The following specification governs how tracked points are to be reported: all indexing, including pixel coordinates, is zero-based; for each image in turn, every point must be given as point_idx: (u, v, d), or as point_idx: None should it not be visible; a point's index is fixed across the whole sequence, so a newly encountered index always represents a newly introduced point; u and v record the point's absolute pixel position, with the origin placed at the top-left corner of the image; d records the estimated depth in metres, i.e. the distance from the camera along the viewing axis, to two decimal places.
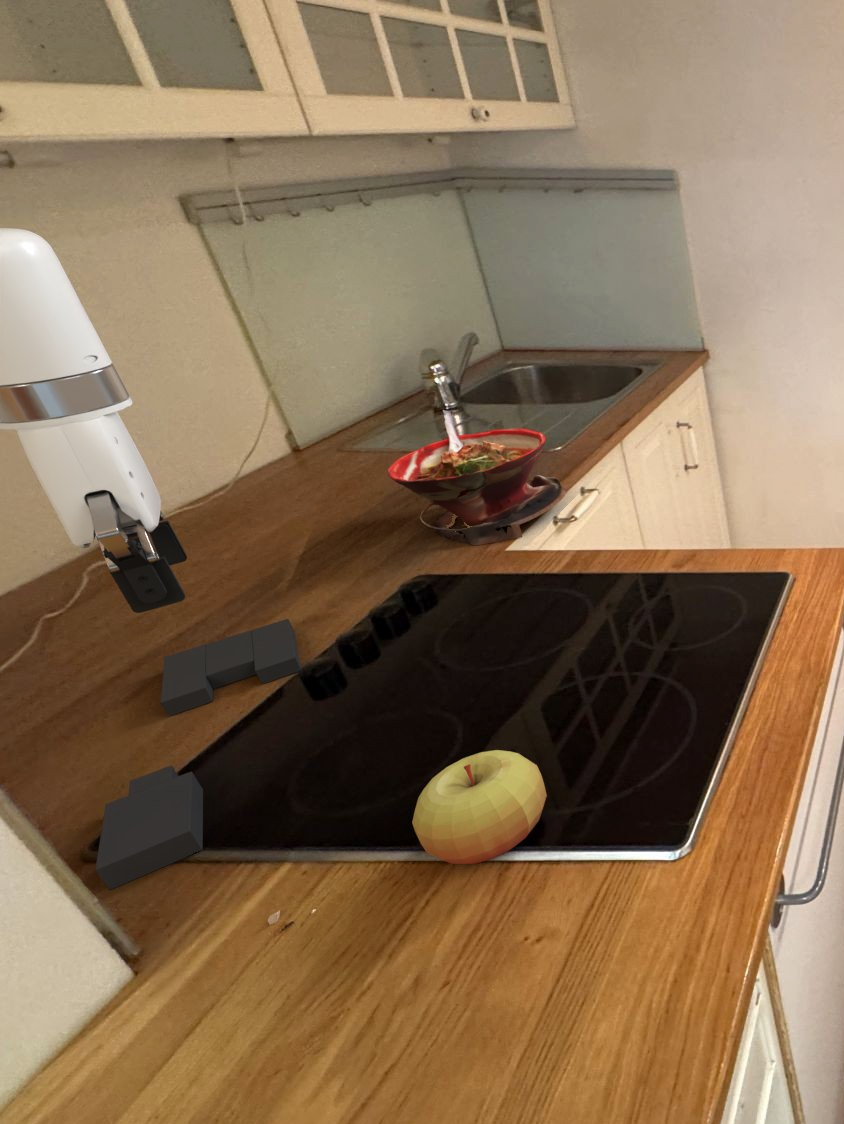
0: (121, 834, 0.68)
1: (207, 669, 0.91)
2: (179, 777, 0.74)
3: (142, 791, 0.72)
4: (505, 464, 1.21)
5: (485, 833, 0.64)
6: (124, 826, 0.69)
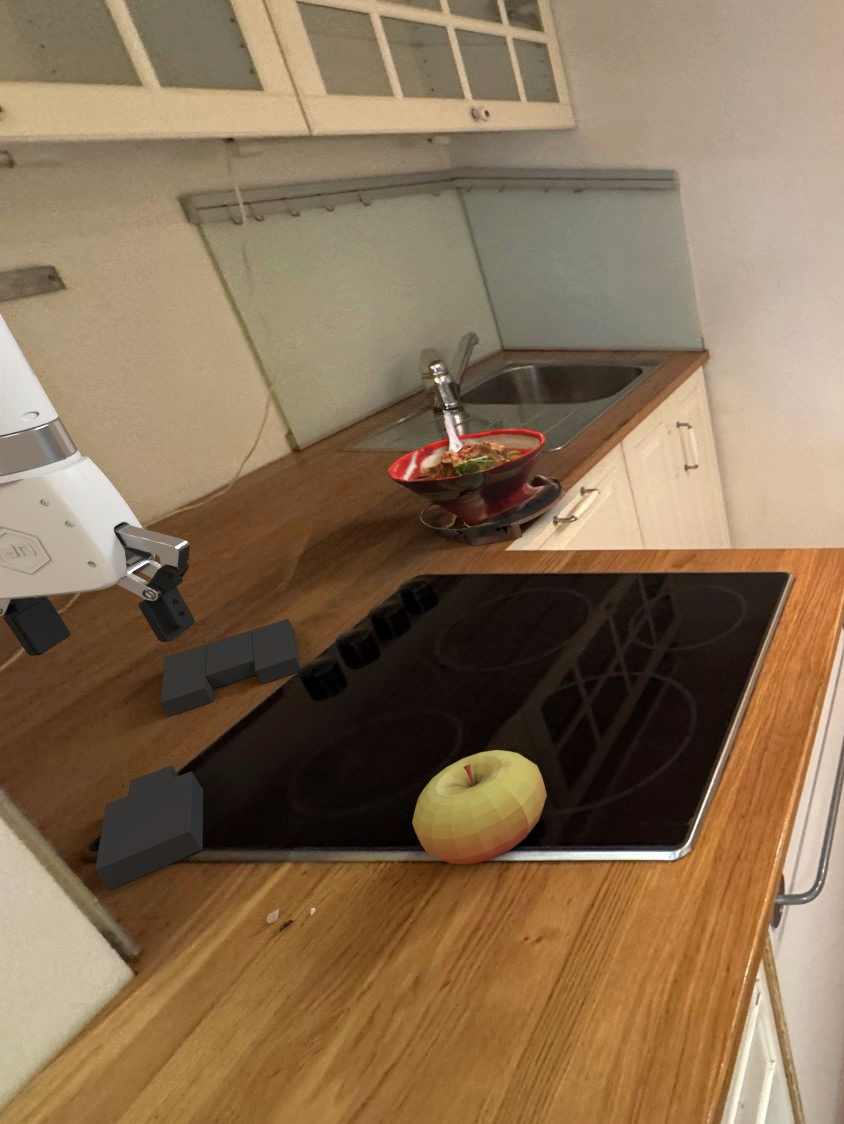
0: (121, 834, 0.68)
1: (207, 669, 0.91)
2: (179, 777, 0.74)
3: (142, 791, 0.72)
4: (505, 464, 1.21)
5: (485, 833, 0.64)
6: (124, 826, 0.69)
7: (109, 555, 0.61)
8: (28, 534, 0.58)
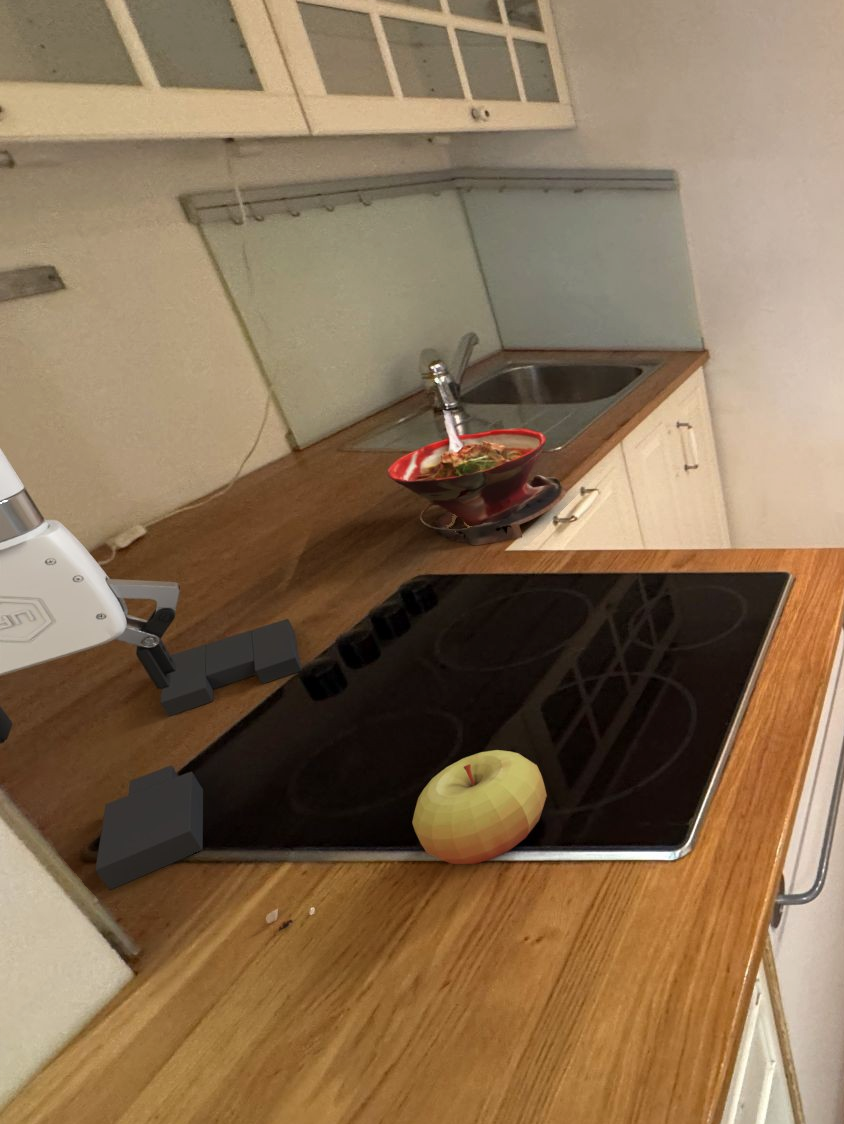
0: (121, 834, 0.68)
1: (207, 669, 0.91)
2: (179, 777, 0.74)
3: (142, 791, 0.72)
4: (505, 464, 1.21)
5: (485, 833, 0.64)
6: (124, 826, 0.69)
7: (114, 605, 0.63)
8: (28, 598, 0.59)
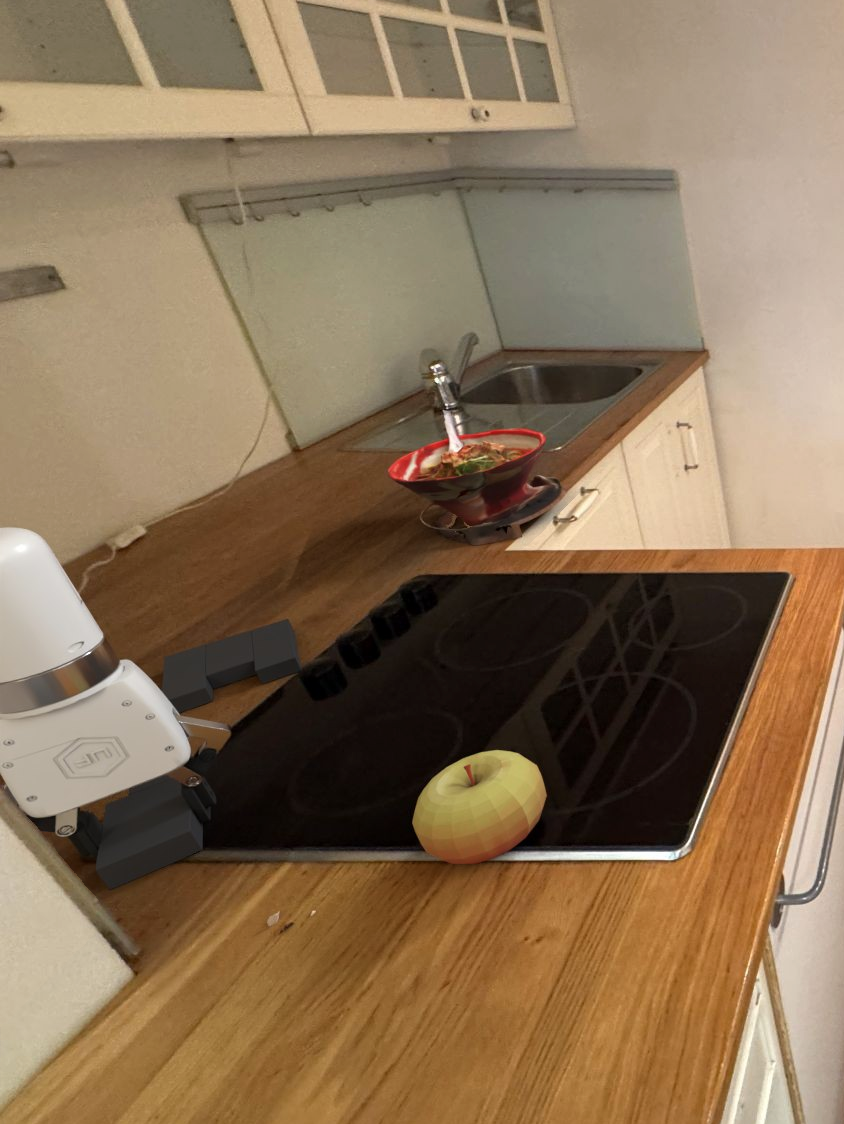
0: (121, 834, 0.68)
1: (207, 669, 0.91)
2: None
3: (142, 791, 0.72)
4: (505, 464, 1.21)
5: (485, 833, 0.64)
6: (124, 826, 0.69)
7: (181, 737, 0.68)
8: (106, 738, 0.64)
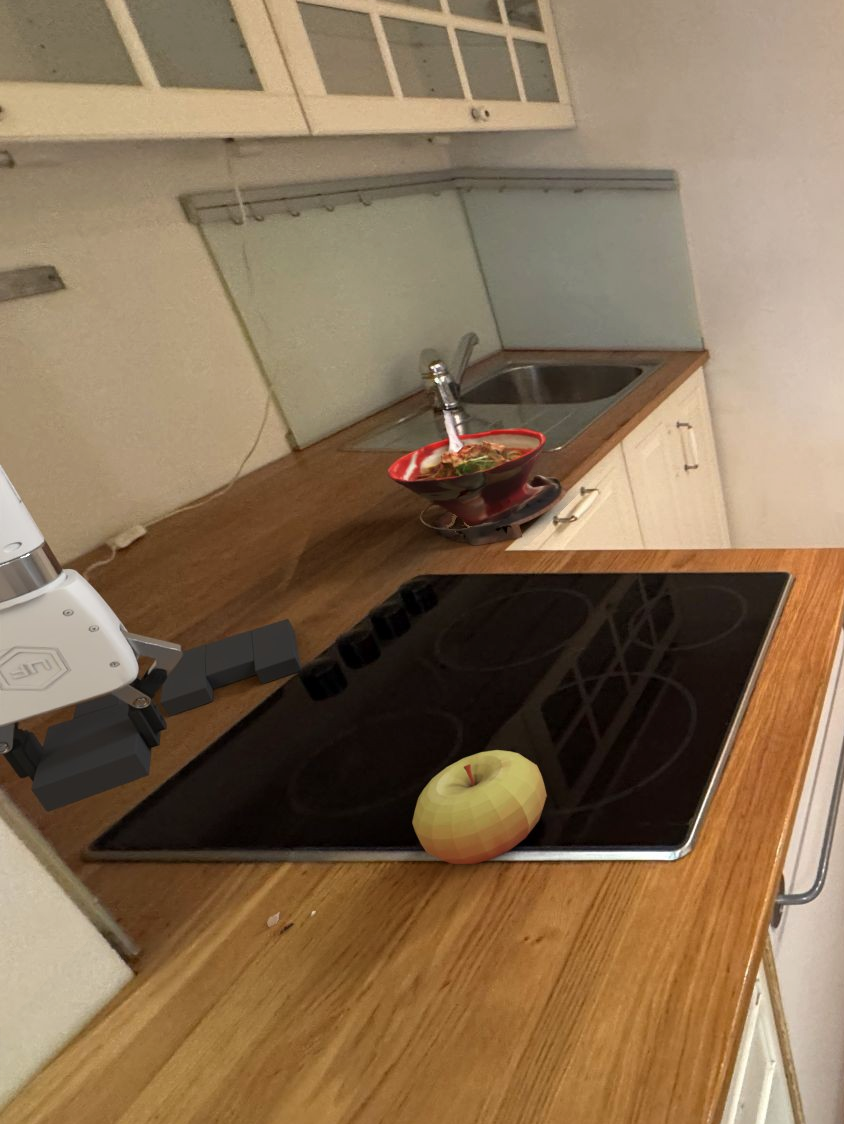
0: (61, 755, 0.64)
1: (207, 669, 0.91)
2: None
3: (88, 715, 0.69)
4: (505, 464, 1.21)
5: (485, 833, 0.64)
6: (65, 748, 0.65)
7: (128, 653, 0.64)
8: (45, 648, 0.60)
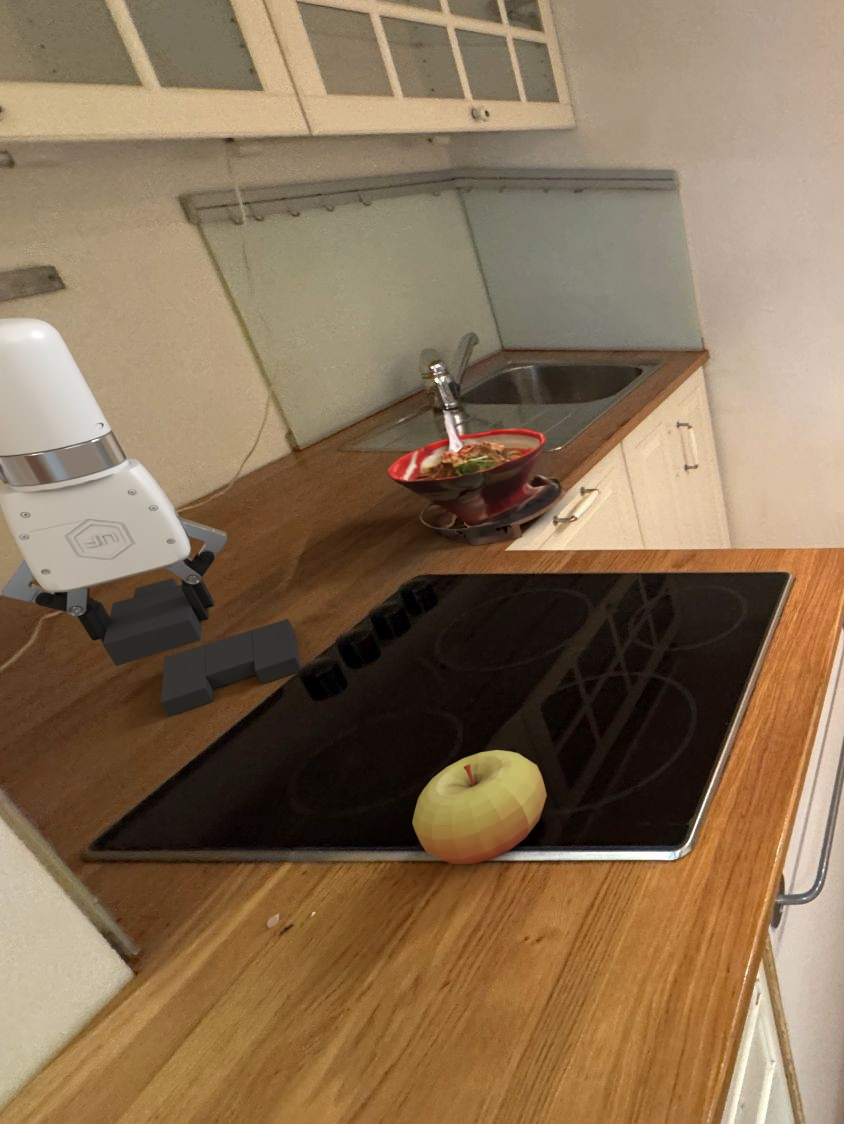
0: (126, 621, 0.74)
1: (207, 669, 0.91)
2: (180, 585, 0.80)
3: (146, 595, 0.79)
4: (505, 464, 1.21)
5: (485, 833, 0.64)
6: (129, 617, 0.75)
7: (182, 533, 0.74)
8: (113, 522, 0.70)
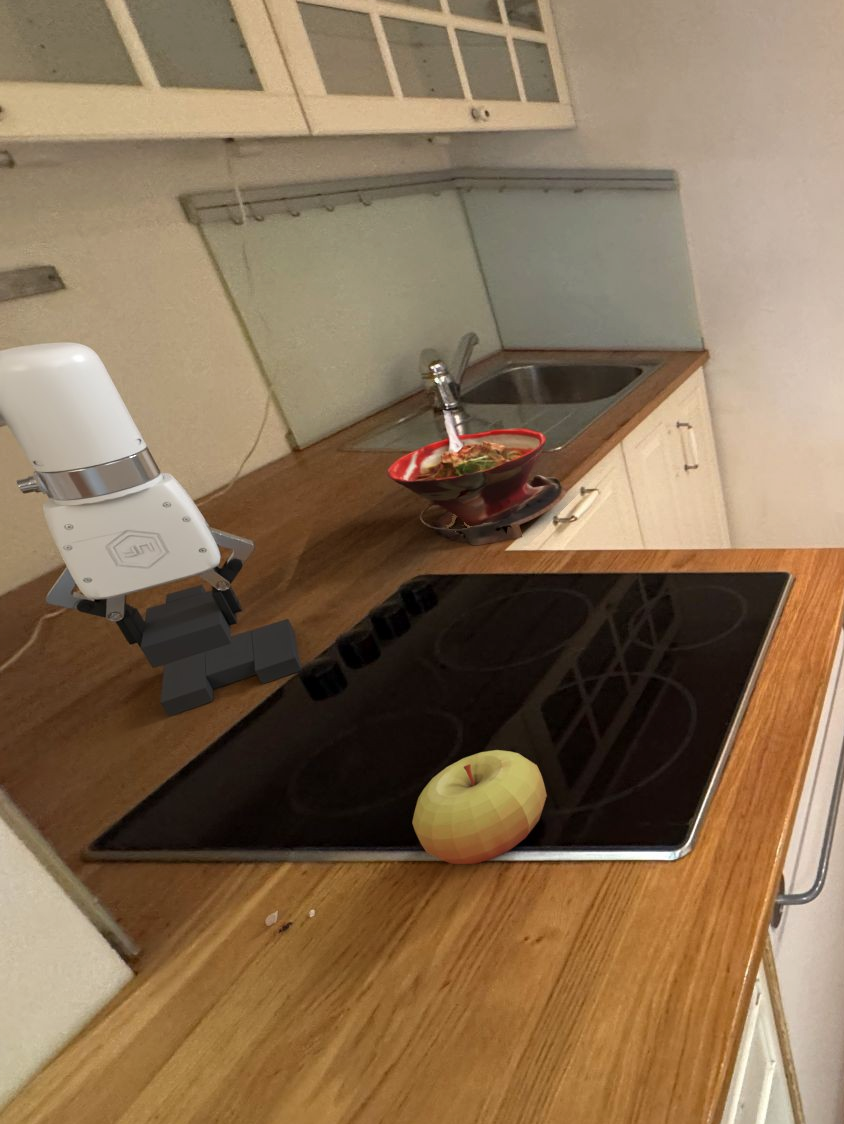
0: (161, 626, 0.78)
1: (207, 669, 0.91)
2: (209, 591, 0.84)
3: (177, 600, 0.83)
4: (505, 464, 1.21)
5: (485, 833, 0.64)
6: (163, 622, 0.79)
7: (212, 542, 0.78)
8: (150, 533, 0.75)
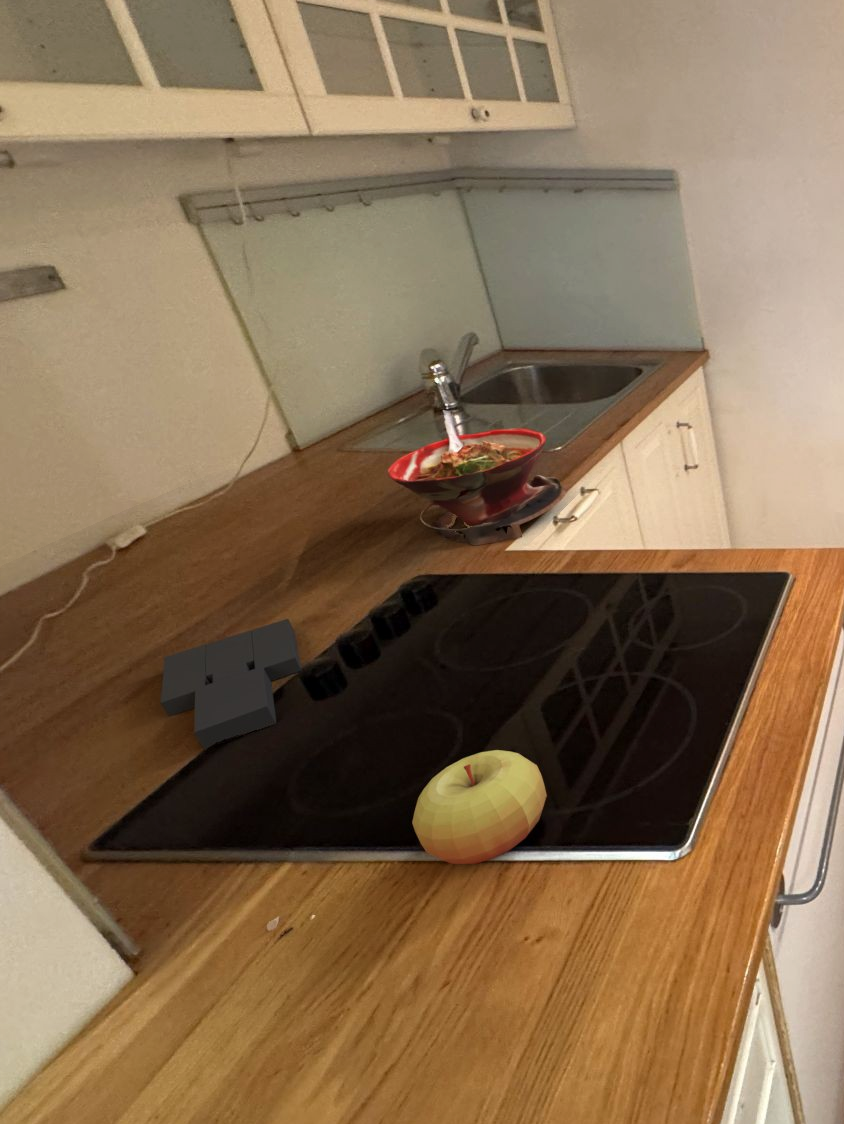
0: (211, 708, 0.83)
1: (207, 669, 0.91)
2: (253, 670, 0.89)
3: (224, 680, 0.88)
4: (505, 464, 1.21)
5: (485, 833, 0.64)
6: (212, 703, 0.84)
7: None
8: None
